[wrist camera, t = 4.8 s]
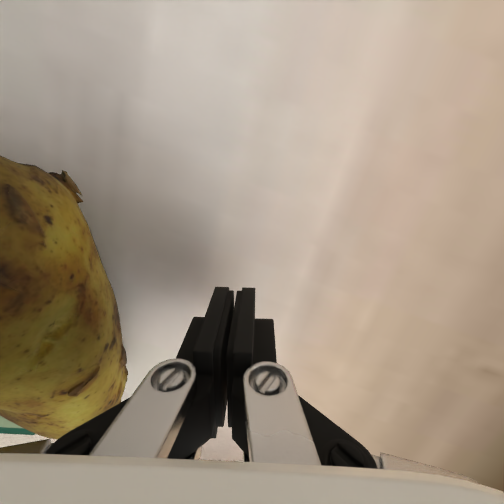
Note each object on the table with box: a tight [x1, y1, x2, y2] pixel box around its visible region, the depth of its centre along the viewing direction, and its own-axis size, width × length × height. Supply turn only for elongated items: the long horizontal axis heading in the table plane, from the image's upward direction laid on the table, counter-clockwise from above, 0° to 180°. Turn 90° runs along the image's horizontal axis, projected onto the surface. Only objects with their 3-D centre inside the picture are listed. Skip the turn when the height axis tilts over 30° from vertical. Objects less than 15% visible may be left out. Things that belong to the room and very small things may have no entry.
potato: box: [0, 156, 128, 439], centre depth 10 cm, size 8×13×8 cm, turn 158°
